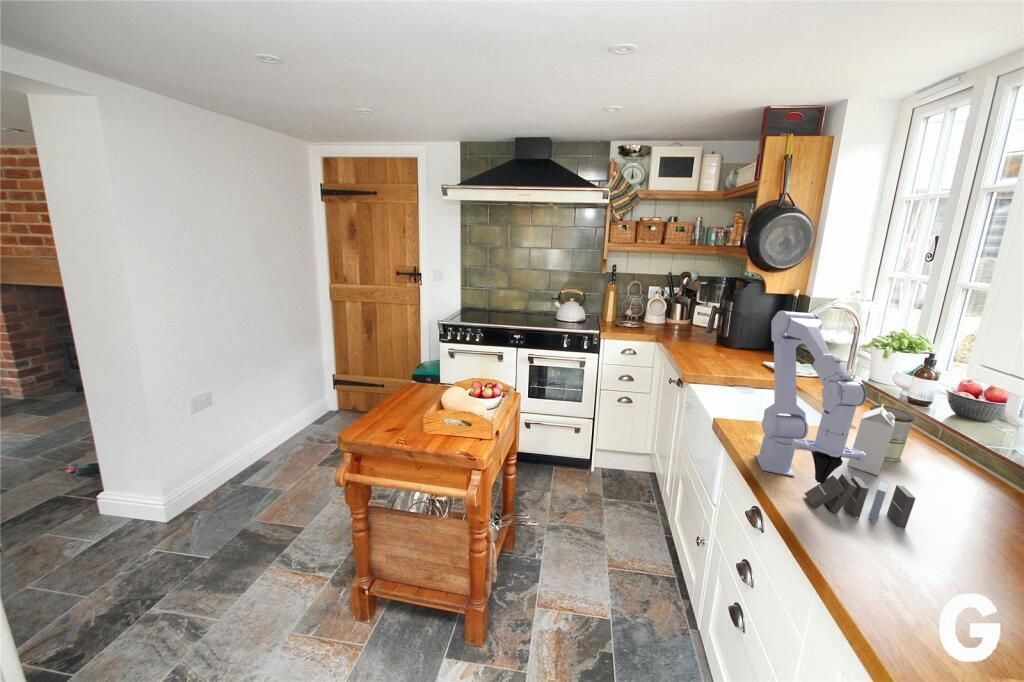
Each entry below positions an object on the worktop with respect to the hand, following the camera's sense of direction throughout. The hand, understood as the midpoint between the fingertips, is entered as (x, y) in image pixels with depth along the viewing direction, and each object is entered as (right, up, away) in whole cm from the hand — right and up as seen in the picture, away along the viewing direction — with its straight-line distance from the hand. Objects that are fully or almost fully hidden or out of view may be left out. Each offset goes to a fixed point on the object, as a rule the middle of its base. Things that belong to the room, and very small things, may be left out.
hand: (819, 480), depth 107 cm
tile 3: (+7, -7, -1) cm, 10 cm away
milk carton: (+28, -3, +22) cm, 36 cm away
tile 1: (-1, -5, +2) cm, 6 cm away
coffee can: (+41, -1, +31) cm, 51 cm away
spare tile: (+12, -8, -2) cm, 14 cm away
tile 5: (+16, -8, -3) cm, 18 cm away
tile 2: (+3, -6, +1) cm, 7 cm away
